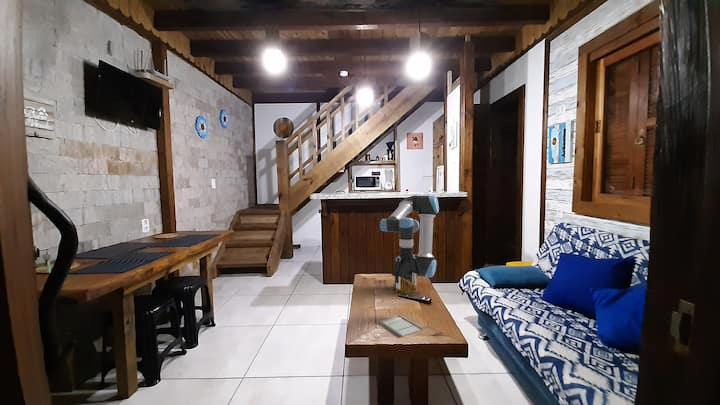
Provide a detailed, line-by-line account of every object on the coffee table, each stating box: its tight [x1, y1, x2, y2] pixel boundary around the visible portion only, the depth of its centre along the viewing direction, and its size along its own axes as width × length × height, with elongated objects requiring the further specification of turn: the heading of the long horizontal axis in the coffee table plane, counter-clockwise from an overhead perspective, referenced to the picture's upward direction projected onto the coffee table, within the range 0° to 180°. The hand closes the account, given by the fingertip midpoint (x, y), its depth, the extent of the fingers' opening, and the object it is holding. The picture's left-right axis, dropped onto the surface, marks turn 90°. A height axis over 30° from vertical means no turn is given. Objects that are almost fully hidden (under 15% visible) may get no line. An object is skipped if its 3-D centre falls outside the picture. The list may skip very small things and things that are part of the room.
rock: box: [395, 277, 418, 295], centre depth 166 cm, size 11×8×10 cm
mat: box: [378, 314, 423, 338], centre depth 155 cm, size 14×18×1 cm
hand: (406, 286), depth 167 cm, fingers closed on rock, 11 cm apart
